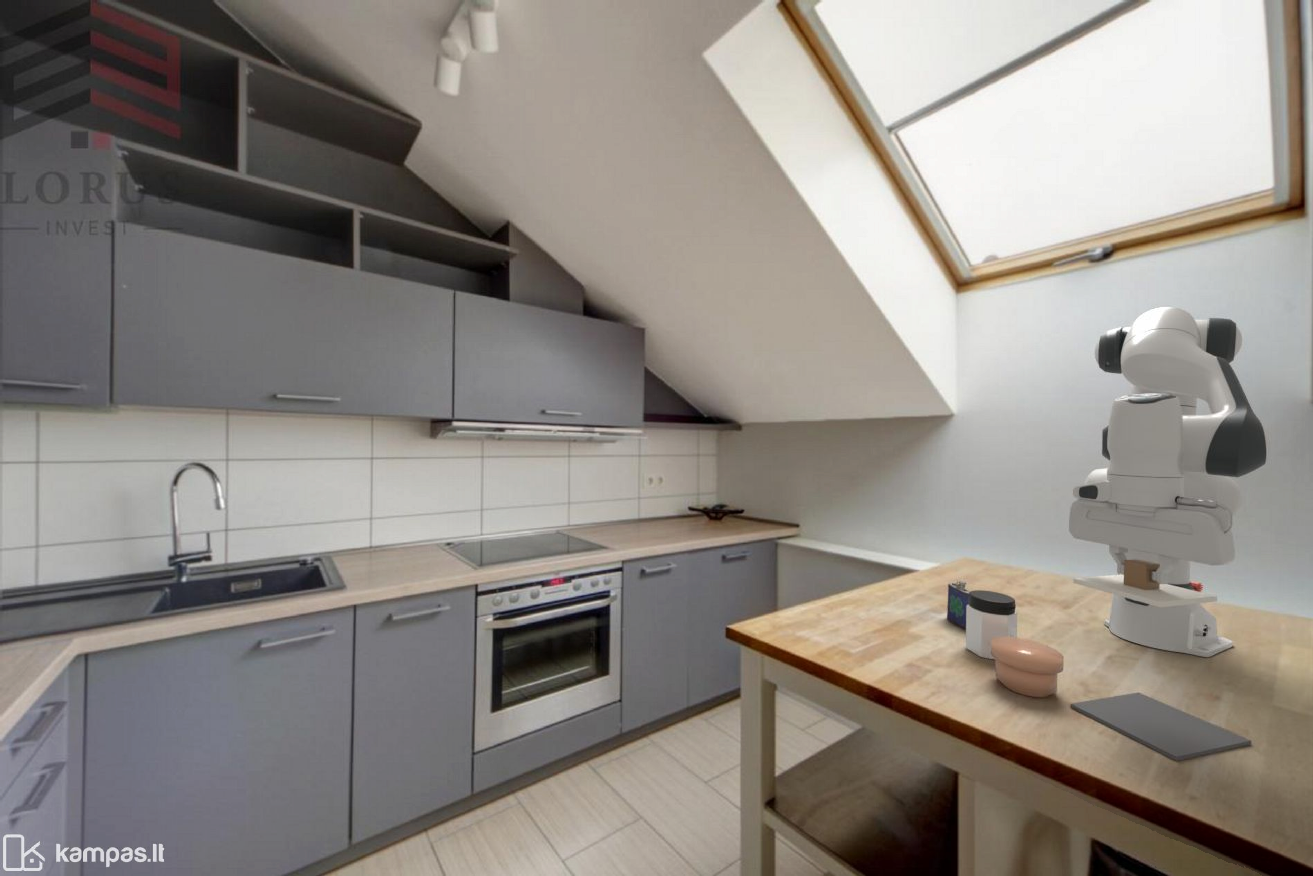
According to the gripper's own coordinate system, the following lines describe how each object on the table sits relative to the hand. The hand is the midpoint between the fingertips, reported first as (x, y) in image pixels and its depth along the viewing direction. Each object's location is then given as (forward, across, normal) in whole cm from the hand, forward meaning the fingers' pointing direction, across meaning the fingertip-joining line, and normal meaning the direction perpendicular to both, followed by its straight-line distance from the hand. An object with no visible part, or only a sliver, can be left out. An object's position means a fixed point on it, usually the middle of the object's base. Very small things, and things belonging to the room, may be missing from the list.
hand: (1141, 578), depth 79 cm
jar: (+23, +25, +2) cm, 34 cm away
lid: (+2, 0, 0) cm, 2 cm away
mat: (+23, -2, -1) cm, 23 cm away
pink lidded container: (+23, +12, +8) cm, 27 cm away
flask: (+23, +39, -5) cm, 46 cm away
